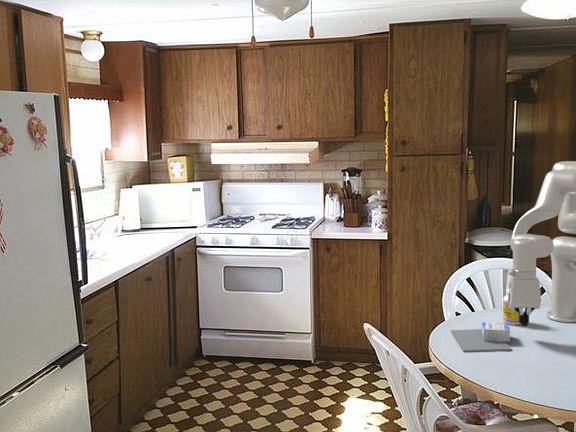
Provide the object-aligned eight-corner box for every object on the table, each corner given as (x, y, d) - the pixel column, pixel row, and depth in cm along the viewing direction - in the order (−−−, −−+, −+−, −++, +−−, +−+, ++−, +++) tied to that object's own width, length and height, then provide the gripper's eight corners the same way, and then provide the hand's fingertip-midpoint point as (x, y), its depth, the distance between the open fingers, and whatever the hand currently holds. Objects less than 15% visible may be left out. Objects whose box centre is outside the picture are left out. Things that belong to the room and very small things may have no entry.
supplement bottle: (499, 320, 236) (500, 288, 234) (515, 318, 237) (515, 286, 235) (509, 326, 230) (509, 293, 228) (525, 324, 231) (525, 291, 229)
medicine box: (510, 329, 212) (484, 329, 213) (510, 342, 212) (483, 341, 214) (506, 322, 219) (481, 321, 221) (506, 334, 220) (481, 333, 222)
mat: (450, 331, 227) (450, 330, 227) (494, 330, 226) (494, 328, 226) (463, 351, 207) (463, 350, 207) (511, 350, 206) (511, 348, 206)
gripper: (505, 277, 209) (505, 329, 212) (550, 276, 208) (549, 328, 211) (499, 272, 216) (499, 322, 219) (542, 270, 215) (542, 320, 218)
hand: (523, 324), depth 215 cm, fingers closed
